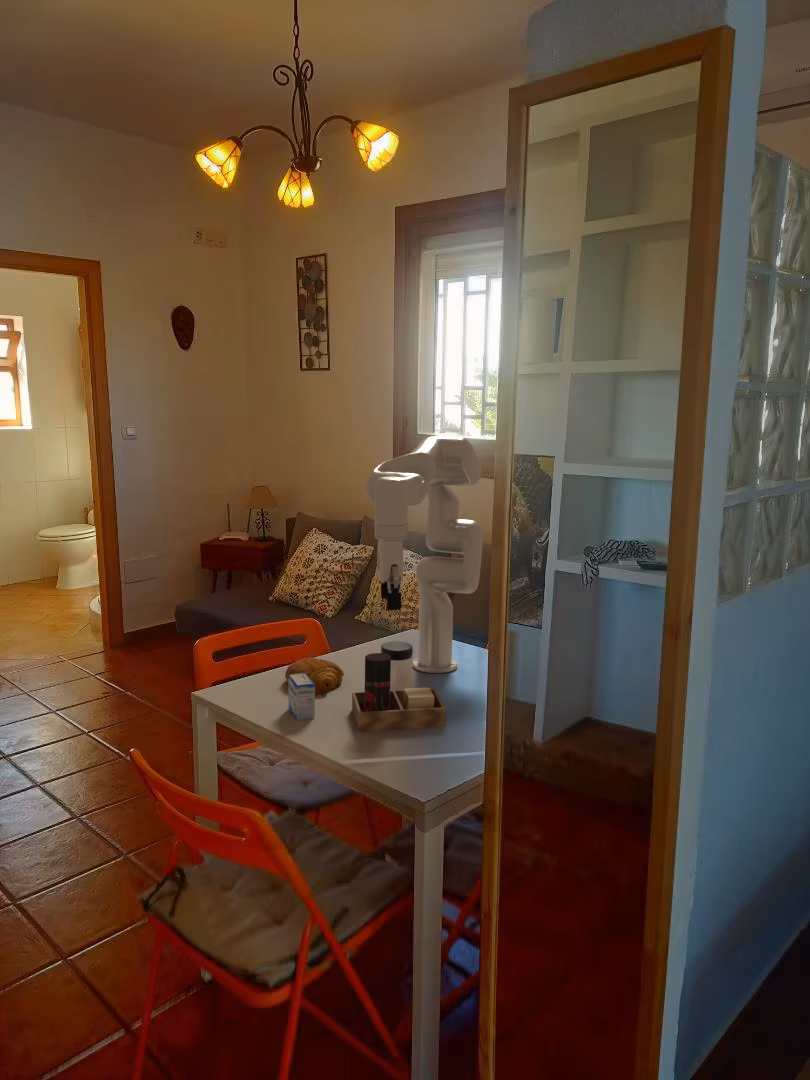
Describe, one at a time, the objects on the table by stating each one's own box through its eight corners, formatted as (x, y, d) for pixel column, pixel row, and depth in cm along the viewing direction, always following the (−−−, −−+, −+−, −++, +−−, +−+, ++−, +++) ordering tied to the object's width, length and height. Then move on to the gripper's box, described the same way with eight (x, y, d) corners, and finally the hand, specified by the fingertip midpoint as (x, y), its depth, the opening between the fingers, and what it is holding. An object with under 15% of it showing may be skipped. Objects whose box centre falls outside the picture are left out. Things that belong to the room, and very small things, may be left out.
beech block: (403, 712, 189) (404, 688, 188) (428, 711, 190) (428, 687, 189) (408, 722, 183) (408, 697, 182) (433, 720, 184) (434, 696, 183)
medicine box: (288, 708, 191) (287, 674, 190) (306, 706, 193) (305, 672, 192) (297, 720, 184) (296, 685, 183) (315, 718, 186) (315, 683, 185)
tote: (358, 734, 177) (358, 713, 176) (352, 712, 190) (352, 692, 189) (445, 728, 181) (445, 708, 180) (433, 707, 193) (433, 688, 193)
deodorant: (392, 722, 183) (394, 659, 180) (368, 724, 181) (369, 661, 178) (385, 712, 188) (386, 652, 186) (361, 715, 186) (362, 654, 184)
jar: (390, 698, 199) (390, 652, 197) (373, 688, 206) (373, 644, 204) (419, 692, 204) (420, 647, 202) (402, 682, 211) (402, 639, 209)
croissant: (303, 706, 199) (305, 678, 197) (277, 680, 211) (277, 653, 209) (353, 693, 207) (354, 666, 205) (324, 669, 219) (325, 643, 217)
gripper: (370, 525, 187) (370, 594, 191) (379, 539, 171) (379, 615, 174) (401, 524, 189) (400, 593, 192) (413, 538, 172) (413, 613, 175)
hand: (390, 603), depth 183 cm, fingers open, 9 cm apart
